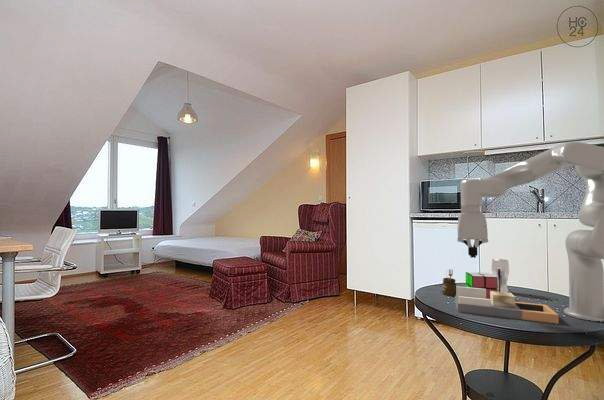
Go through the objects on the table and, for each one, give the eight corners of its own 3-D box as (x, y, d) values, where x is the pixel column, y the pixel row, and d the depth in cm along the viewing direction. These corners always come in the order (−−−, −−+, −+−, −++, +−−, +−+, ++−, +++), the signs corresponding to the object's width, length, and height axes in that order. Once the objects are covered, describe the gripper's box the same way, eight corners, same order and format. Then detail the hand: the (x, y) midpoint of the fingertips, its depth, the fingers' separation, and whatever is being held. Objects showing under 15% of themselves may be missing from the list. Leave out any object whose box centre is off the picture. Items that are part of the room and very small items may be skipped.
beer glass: (492, 288, 154) (492, 258, 154) (509, 291, 149) (509, 259, 150) (491, 291, 148) (491, 260, 148) (508, 294, 144) (508, 261, 144)
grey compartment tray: (546, 312, 118) (545, 294, 118) (558, 323, 106) (558, 303, 107) (455, 302, 130) (455, 285, 130) (457, 311, 118) (457, 293, 118)
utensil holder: (454, 293, 145) (454, 267, 145) (458, 296, 139) (458, 269, 139) (440, 292, 146) (440, 266, 147) (444, 295, 140) (443, 269, 140)
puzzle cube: (498, 300, 134) (497, 277, 134) (472, 299, 136) (472, 276, 136) (489, 294, 143) (488, 272, 144) (465, 293, 145) (465, 271, 146)
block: (511, 303, 119) (511, 292, 119) (515, 307, 114) (515, 296, 114) (490, 301, 122) (490, 290, 122) (493, 305, 116) (492, 294, 117)
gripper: (491, 210, 124) (493, 256, 123) (450, 210, 129) (451, 255, 129) (495, 210, 117) (497, 259, 116) (451, 210, 122) (452, 257, 122)
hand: (472, 257), depth 122 cm, fingers closed
